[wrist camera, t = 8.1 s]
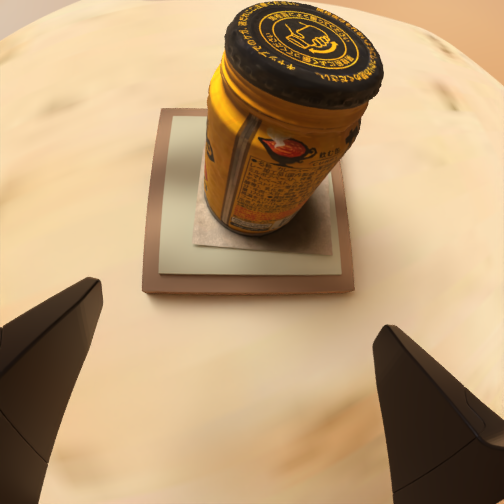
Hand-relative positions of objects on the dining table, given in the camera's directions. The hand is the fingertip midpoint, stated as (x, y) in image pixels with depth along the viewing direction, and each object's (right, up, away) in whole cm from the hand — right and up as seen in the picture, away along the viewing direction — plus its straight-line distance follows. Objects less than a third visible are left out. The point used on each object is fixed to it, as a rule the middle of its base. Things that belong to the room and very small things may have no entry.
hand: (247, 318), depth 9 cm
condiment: (+1, +5, +10) cm, 12 cm away
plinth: (0, +6, +12) cm, 13 cm away
